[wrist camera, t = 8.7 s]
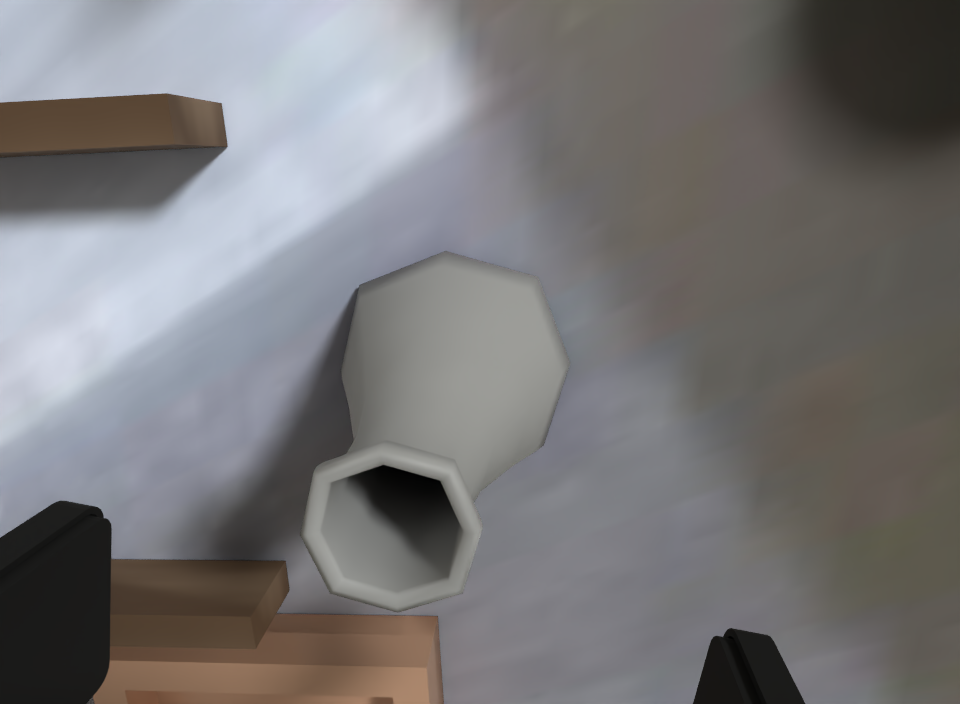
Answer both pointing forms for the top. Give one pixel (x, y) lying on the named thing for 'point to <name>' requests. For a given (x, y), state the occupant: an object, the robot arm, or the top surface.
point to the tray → (290, 665)
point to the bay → (156, 583)
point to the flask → (431, 425)
